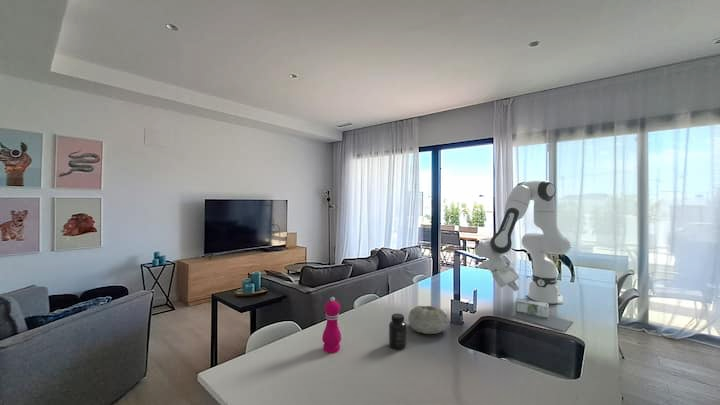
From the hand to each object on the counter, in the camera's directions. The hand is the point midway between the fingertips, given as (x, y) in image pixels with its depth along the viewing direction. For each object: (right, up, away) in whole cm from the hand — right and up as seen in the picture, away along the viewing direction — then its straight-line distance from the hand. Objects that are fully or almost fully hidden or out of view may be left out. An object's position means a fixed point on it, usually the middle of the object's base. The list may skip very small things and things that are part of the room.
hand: (517, 290), depth 152 cm
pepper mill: (-93, -11, -40) cm, 102 cm away
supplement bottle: (-67, -11, -37) cm, 77 cm away
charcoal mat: (+8, -12, -8) cm, 17 cm away
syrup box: (0, -8, +3) cm, 9 cm away
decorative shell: (-51, -11, -22) cm, 57 cm away
